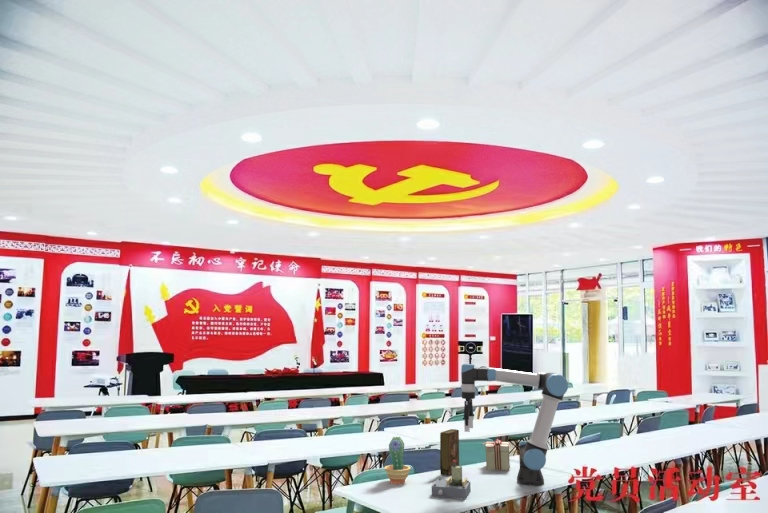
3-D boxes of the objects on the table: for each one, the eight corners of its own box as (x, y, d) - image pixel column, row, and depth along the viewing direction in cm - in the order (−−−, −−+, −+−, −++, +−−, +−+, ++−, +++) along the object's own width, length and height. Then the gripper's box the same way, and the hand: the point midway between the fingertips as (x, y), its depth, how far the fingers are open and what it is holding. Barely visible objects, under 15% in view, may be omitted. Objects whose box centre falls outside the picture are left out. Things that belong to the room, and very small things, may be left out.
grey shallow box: (470, 491, 307) (470, 476, 308) (465, 500, 289) (464, 485, 290) (437, 488, 312) (437, 474, 313) (430, 497, 295) (430, 482, 296)
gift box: (480, 464, 373) (480, 437, 375) (509, 465, 370) (508, 438, 373) (481, 470, 356) (481, 442, 359) (511, 471, 354) (511, 443, 356)
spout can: (462, 487, 303) (462, 459, 305) (461, 489, 298) (461, 461, 300) (452, 486, 305) (452, 459, 307) (450, 489, 300) (450, 461, 302)
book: (452, 470, 356) (451, 429, 360) (460, 471, 353) (459, 429, 357) (440, 475, 342) (440, 432, 346) (448, 476, 340) (448, 433, 343)
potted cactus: (378, 482, 325) (378, 436, 329) (396, 477, 337) (396, 433, 340) (398, 486, 315) (398, 440, 319) (416, 481, 326) (416, 436, 330)
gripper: (465, 389, 337) (465, 426, 334) (458, 393, 313) (458, 432, 310) (477, 389, 335) (478, 426, 332) (471, 393, 311) (472, 433, 308)
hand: (468, 429), depth 321 cm, fingers open, 13 cm apart
